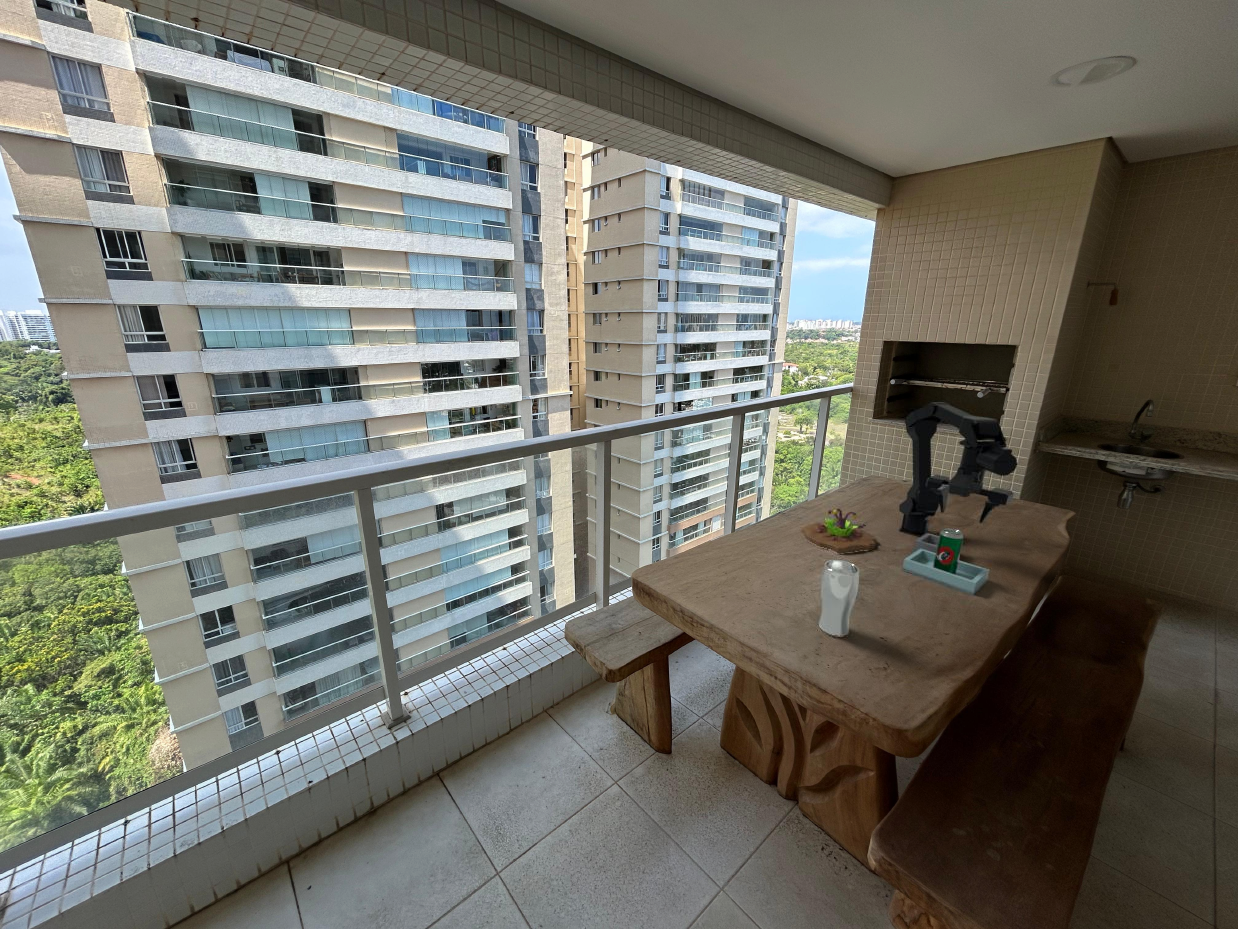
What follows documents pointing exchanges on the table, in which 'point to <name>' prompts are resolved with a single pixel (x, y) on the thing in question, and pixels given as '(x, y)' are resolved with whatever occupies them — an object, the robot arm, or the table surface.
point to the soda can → (948, 550)
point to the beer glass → (838, 596)
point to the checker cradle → (926, 543)
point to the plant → (839, 534)
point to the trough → (964, 579)
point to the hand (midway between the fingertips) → (961, 517)
